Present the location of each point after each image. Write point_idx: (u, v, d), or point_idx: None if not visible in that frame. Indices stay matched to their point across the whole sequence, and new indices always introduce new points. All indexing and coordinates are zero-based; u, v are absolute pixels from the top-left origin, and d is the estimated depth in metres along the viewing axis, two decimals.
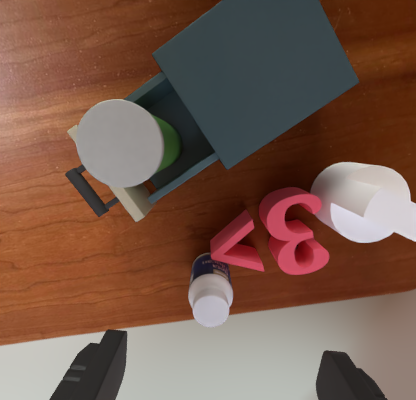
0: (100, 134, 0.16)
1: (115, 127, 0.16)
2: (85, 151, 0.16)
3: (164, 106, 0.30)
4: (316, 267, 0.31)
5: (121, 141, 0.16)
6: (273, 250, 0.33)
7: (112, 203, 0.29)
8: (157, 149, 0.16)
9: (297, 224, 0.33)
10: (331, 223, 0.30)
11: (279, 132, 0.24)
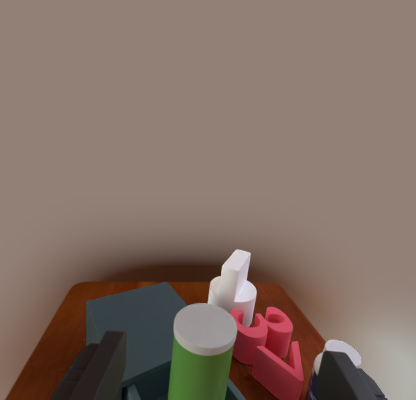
0: (198, 331, 0.21)
1: (193, 322, 0.22)
2: (211, 342, 0.20)
3: None
4: (281, 312, 0.44)
5: (203, 321, 0.23)
6: (280, 344, 0.40)
7: None
8: (208, 305, 0.25)
9: None
10: (248, 304, 0.45)
11: None
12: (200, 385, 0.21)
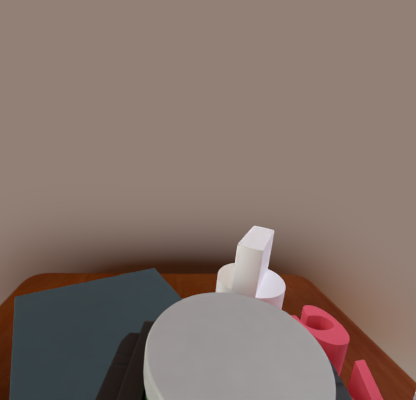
0: (218, 374, 0.07)
1: (202, 344, 0.08)
2: None
3: None
4: (325, 313, 0.30)
5: (229, 339, 0.08)
6: None
7: None
8: (236, 297, 0.10)
9: None
10: (275, 301, 0.31)
11: None
12: None
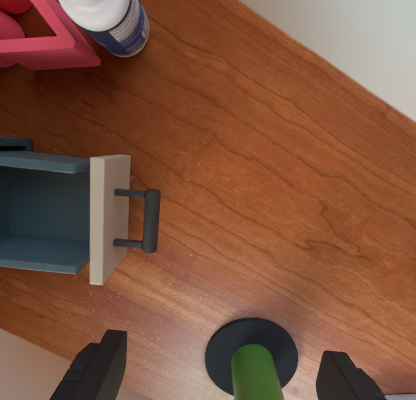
0: None
1: None
2: None
3: (41, 230, 0.28)
4: None
5: None
6: None
7: (133, 193, 0.23)
8: None
9: None
10: None
11: None
12: None
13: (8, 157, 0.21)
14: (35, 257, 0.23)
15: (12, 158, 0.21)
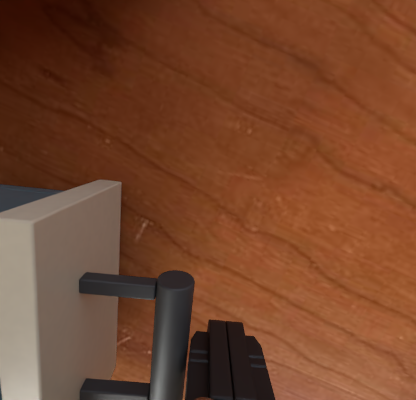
0: None
1: None
2: None
3: None
4: None
5: None
6: None
7: (127, 289, 0.09)
8: None
9: None
10: None
11: None
12: None
13: None
14: None
15: None
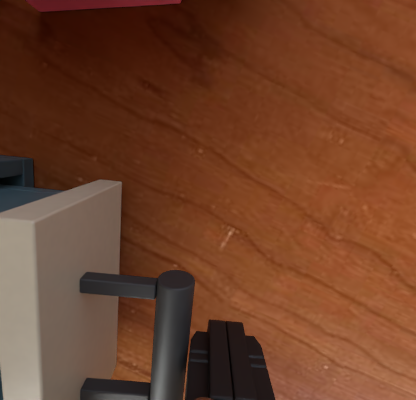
0: None
1: None
2: None
3: None
4: None
5: None
6: None
7: (127, 288, 0.09)
8: None
9: None
10: None
11: None
12: None
13: None
14: None
15: None
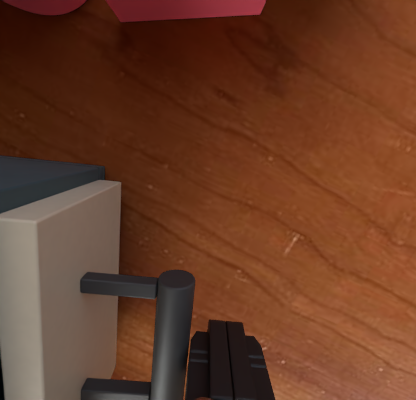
0: None
1: None
2: None
3: None
4: None
5: None
6: None
7: (128, 288, 0.09)
8: None
9: None
10: None
11: None
12: None
13: None
14: None
15: None
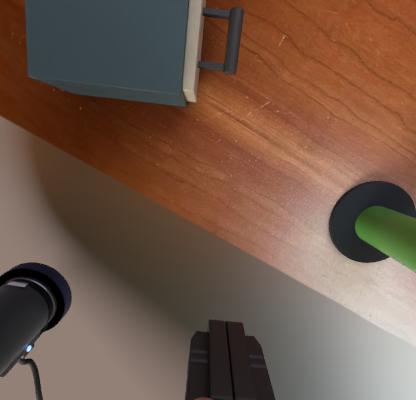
0: None
1: None
2: None
3: None
4: None
5: None
6: None
7: (220, 11, 0.26)
8: None
9: None
10: None
11: None
12: None
13: None
14: None
15: None
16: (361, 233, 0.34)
